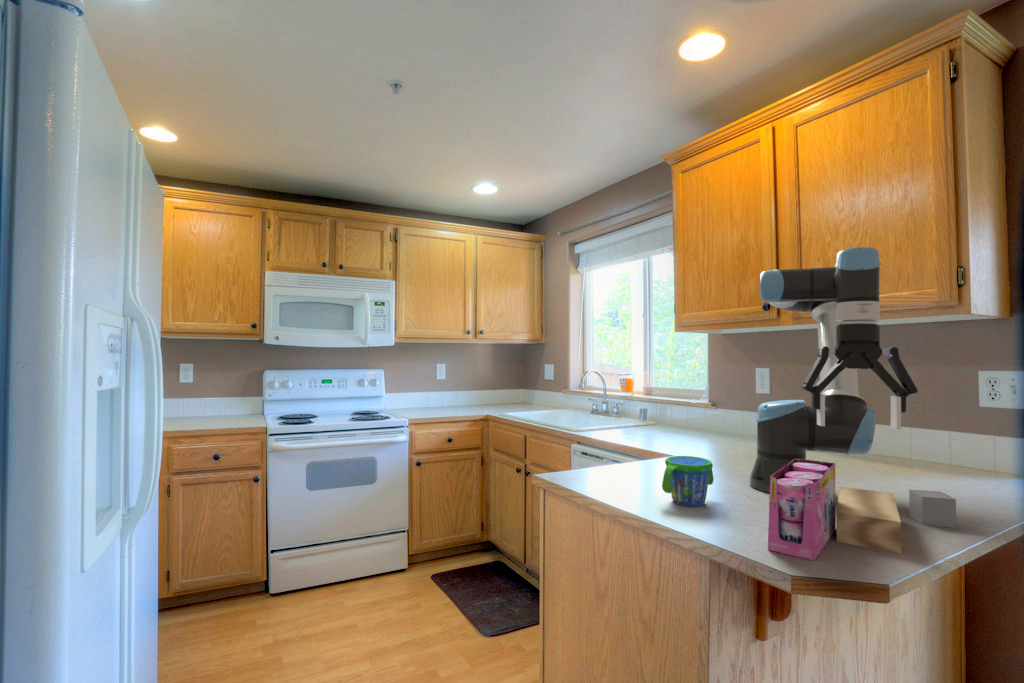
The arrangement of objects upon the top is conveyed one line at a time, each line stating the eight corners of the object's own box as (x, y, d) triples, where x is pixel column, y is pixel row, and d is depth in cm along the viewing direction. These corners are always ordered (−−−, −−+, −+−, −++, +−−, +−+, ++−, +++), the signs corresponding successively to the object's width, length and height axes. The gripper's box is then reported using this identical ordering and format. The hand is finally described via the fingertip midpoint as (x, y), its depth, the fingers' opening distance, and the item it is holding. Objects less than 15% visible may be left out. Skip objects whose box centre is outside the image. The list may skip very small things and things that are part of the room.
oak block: (836, 543, 102) (836, 512, 102) (839, 512, 121) (839, 486, 121) (901, 555, 96) (901, 522, 96) (893, 520, 116) (893, 493, 116)
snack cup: (679, 513, 119) (679, 467, 119) (647, 500, 128) (648, 458, 128) (729, 504, 125) (729, 461, 126) (696, 493, 135) (696, 453, 135)
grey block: (922, 525, 112) (922, 496, 112) (909, 516, 118) (909, 489, 118) (955, 527, 111) (955, 499, 111) (941, 519, 116) (941, 491, 116)
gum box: (814, 564, 91) (814, 485, 91) (764, 553, 96) (765, 477, 96) (836, 528, 109) (836, 462, 110) (794, 520, 114) (794, 457, 115)
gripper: (795, 322, 108) (795, 426, 108) (937, 322, 102) (938, 432, 102) (786, 324, 116) (786, 422, 115) (918, 324, 110) (919, 427, 109)
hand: (857, 427), depth 108 cm, fingers open, 13 cm apart
